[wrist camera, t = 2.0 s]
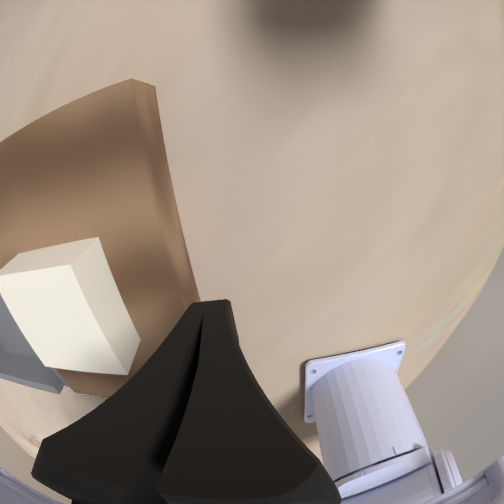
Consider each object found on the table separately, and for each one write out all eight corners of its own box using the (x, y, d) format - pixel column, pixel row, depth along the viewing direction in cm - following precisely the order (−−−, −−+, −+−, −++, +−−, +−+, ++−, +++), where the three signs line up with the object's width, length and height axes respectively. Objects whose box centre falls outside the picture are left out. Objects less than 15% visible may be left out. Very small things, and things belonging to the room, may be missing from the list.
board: (220, 367, 19) (218, 401, 16) (86, 366, 19) (74, 392, 16) (155, 86, 11) (131, 78, 8) (-2, 155, 11) (-33, 167, 8)
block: (140, 339, 13) (127, 374, 11) (61, 338, 14) (45, 366, 11) (98, 236, 11) (70, 264, 8) (19, 253, 11) (-8, 276, 9)
